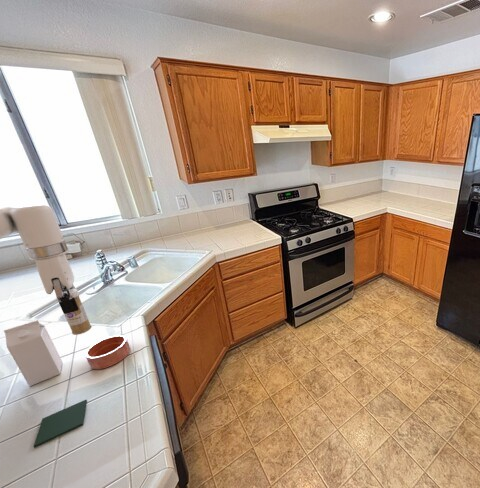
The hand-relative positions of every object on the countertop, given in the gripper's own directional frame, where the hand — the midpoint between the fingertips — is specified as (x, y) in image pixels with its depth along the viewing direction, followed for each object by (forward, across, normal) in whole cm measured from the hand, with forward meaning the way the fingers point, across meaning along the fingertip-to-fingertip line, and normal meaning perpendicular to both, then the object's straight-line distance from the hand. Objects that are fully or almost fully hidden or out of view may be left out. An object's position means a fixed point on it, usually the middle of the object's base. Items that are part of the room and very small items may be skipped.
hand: (72, 307), depth 77 cm
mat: (+24, +16, -7) cm, 30 cm away
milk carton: (+24, -11, -14) cm, 30 cm away
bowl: (+24, -6, +3) cm, 25 cm away
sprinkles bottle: (+8, 0, 0) cm, 8 cm away
